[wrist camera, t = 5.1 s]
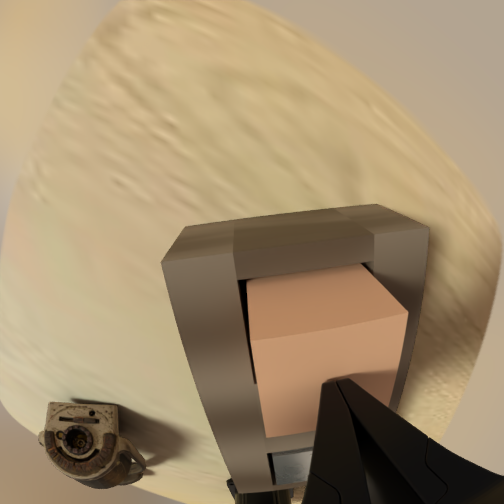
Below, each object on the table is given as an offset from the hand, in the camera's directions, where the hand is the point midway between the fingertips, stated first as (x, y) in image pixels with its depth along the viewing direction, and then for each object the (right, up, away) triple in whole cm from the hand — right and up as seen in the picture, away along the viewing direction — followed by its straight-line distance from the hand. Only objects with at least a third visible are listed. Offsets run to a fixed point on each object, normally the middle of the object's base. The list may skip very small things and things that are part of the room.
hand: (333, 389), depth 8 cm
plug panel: (0, -2, +10) cm, 10 cm away
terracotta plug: (0, +2, +5) cm, 5 cm away
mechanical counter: (-16, -13, +13) cm, 24 cm away
